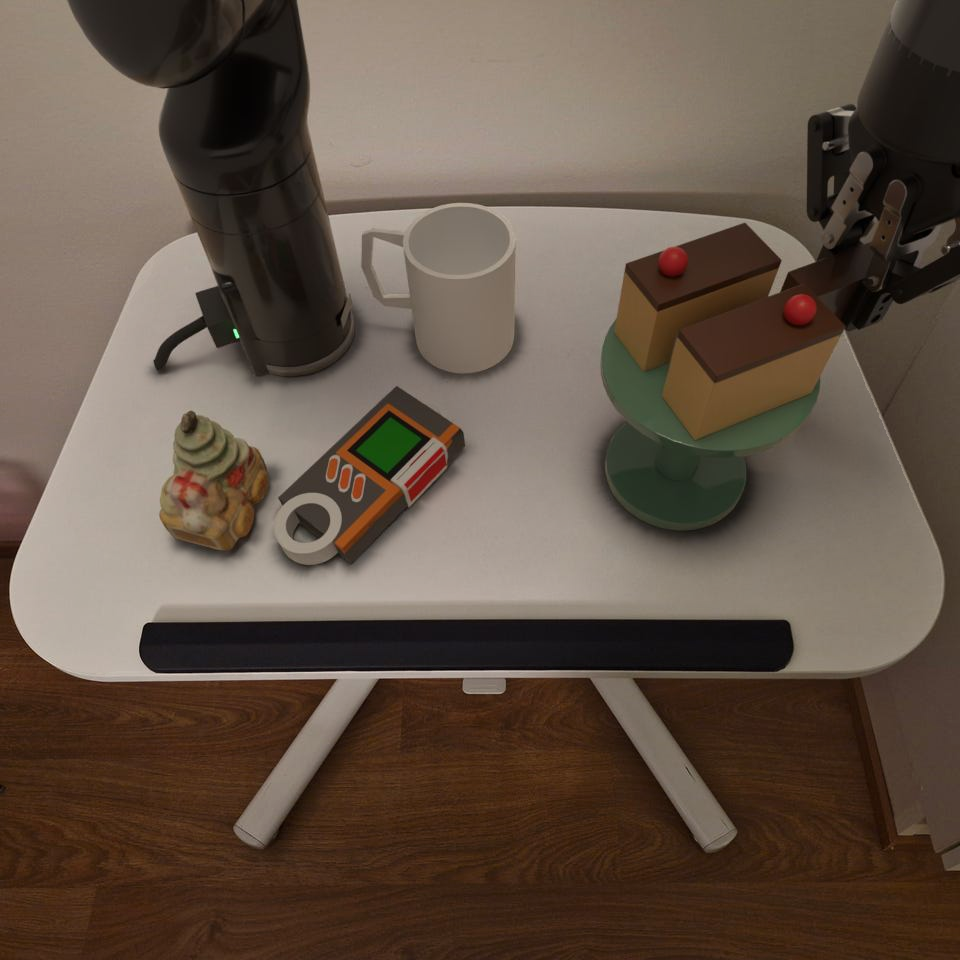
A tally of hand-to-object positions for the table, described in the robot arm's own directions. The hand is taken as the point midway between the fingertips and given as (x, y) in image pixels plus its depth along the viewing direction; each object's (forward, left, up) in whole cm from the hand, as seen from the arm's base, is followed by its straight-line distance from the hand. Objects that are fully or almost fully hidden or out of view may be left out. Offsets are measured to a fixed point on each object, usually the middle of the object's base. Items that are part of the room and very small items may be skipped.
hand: (840, 307), depth 49 cm
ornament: (-40, +11, -13) cm, 44 cm away
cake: (-9, 0, 0) cm, 10 cm away
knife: (-5, 0, 0) cm, 5 cm away
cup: (-19, +20, -13) cm, 31 cm away
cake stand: (-9, 0, -12) cm, 16 cm away
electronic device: (-30, +8, -13) cm, 34 cm away
